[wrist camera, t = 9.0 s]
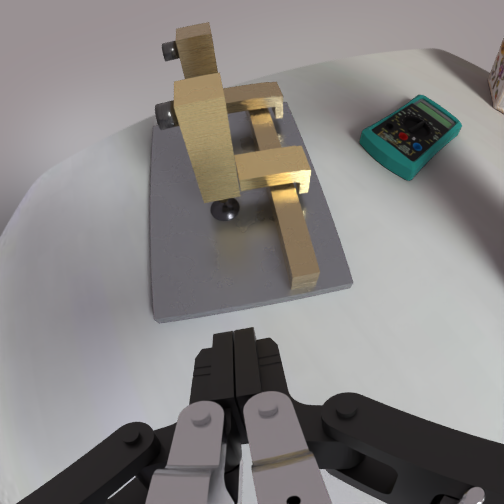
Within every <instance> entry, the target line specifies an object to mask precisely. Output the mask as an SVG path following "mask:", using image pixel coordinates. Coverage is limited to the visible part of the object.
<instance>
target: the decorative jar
mask: <svg viewBox="0 0 504 504" xmlns="http://www.w3.org/2000/svg"><path fill="white" fill-rule="evenodd" d="M488 83H489V87H490V92H491V96H492V101H493V108H495V109H497V110H498V111H500V112H502V113H503V114H504V38H503V41H502V44H501V46H500V49H499V52H498V55H497V57H496V60H495V62H494V65H493V67H492V70H491V73H490V75H489V78H488Z"/></svg>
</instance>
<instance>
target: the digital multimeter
mask: <svg viewBox="0 0 504 504" xmlns="http://www.w3.org/2000/svg"><path fill="white" fill-rule="evenodd" d="M461 127H462V124H461V123H460V121H459V120H458V119H457V118H456V117H454V116H453V115H452V114H451V113H449V112H448V111H447V110H445V109H444V108H442V107H441V106H440V105H438V104H437V103H435V102H434V101H432V100H431V99H429V98H427V97H426V96H424V95H418V96H416V97H415V98H413V99H412V100H411V101H410V102H408V103H407V104H406V105H404V106H403V107H401V108H400V109H398V110H397V111H395V112H394V113H392V114H390V115H389V116H387V117H385V118H383V119H382V120H380V121H378V122H376V123H375V124H373V125H371V126H369V127H367V128H365V129H364V130H363V131H362V134H361V138H360V144H361V145H362V146H363V148H364V149H365V150H366V151H367V152H368V153H369V154H370V155H371V156H372V157H373V158H374V159H375V160H376V161H378V162H379V163H380V164H381V165H383V166H384V167H385V168H387V169H389V170H390V171H392V172H393V173H395V174H397V175H398V176H400V177H402V178H404V179H405V180H407V181H410V180H412V179H413V177H414V176H415V175H416V174H417V173H418V172H419V171H420V170H421V169H422V168H423V167H424V166H425V164H426V163H427V162H428V161H429V160H430V159H431V158H432V157H433V156H434V155H435V154H436V153H437V152H438V151H440V150H441V149H442V148H443V147H444V146H445V145H446V144H447V143H449V142H450V141H451V140H452V139H453V138H455V137H456V136H457V135H458V133H459V131H460V129H461ZM446 132H447V133H446ZM424 152H425V153H424Z"/></svg>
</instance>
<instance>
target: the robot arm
mask: <svg viewBox="0 0 504 504" xmlns="http://www.w3.org/2000/svg"><path fill="white" fill-rule="evenodd" d="M248 443H249V446H250V452H251V457H252V463H253V465H252V475H253V480H254V485H255V491H256V496H257V501H258V504H332V502H331V499H330V497H329V494H328V491H327V489H326V486H325V483H324V481H323V478H322V475H321V473H320V470H319V469H326V471H327V472H328V473H329V474H331V475H333V476H334V477H336V478H338V479H340V480H342V481H344V482H345V483H347V484H349V485H351V486H353V487H355V488H357V489H359V490H361V491H363V492H365V493H367V494H369V495H371V496H373V497H375V498H377V499H379V500H381V501H383V502H385V503H388V504H504V444H501V443H497V442H494V441H490V440H487V439H483V438H480V437H477V436H473V435H470V434H467V433H464V432H461V431H458V430H454V429H451V428H448V427H445V426H442V425H440V424H437V423H434V422H431V421H428V420H425V419H422V418H420V417H417V416H414V415H411V414H409V413H406V412H403V411H401V410H398V409H395V408H393V407H390V406H388V405H385V404H383V403H380V402H378V401H375V400H373V399H370V398H368V397H365V396H363V395H360V394H357V393H351V392H347V393H340V394H337V395H335V396H332V397H331V398H329V399H328V400H327V401H326V402H325V403H324V405H306V404H302V403H299V402H297V401H296V400H294V399H293V398H292V397H291V396H290V394H289V392H288V388H287V383H286V379H285V375H284V371H283V366H282V362H281V358H280V353H279V349H278V345H277V344H276V343H275V342H274V341H273V340H272V339H271V338H265V339H259V340H256V336H255V331H254V327H251V328H246V329H240V330H235V331H234V332H233V331H229V332H223V333H217V334H214V335H213V345H212V348H206V349H202V350H201V351H200V353H199V354H198V355H197V357H196V358H195V365H194V372H193V380H192V387H191V395H190V403H189V406H187V407H186V408H184V409H183V410H182V412H181V413H180V415H179V417H178V421H177V422H176V423H174V424H172V425H170V426H167V427H164V428H161V429H157V430H154V431H153V429H152V428H151V427H150V426H149V425H147V424H146V423H142V422H132V423H128V424H125V425H123V426H122V427H120V428H119V429H118V430H116V431H115V432H114V433H112V434H111V435H110V436H109V437H107V438H106V439H105V440H103V441H102V442H101V443H100V444H98V445H97V446H96V447H94V448H93V449H92V450H90V451H89V452H88V453H86V454H85V455H84V456H82V457H81V458H80V459H78V460H77V461H76V462H74V463H73V464H72V465H70V466H69V467H68V468H66V469H65V470H63V471H62V472H61V473H59V474H58V475H57V476H55V477H54V478H52V479H51V480H50V481H48V482H47V483H45V484H44V485H43V486H41V487H40V488H38V489H37V490H35V491H34V492H32V493H31V494H30V495H28V496H27V497H25V498H24V499H22V500H21V501H19V502H18V503H16V504H242V483H243V460H242V450H241V444H248ZM134 476H136V477H135V478H134V479H133V480H132V481H131V482H129V483H128V484H127V485H126V486H125V487H123V488H122V489H121V490H120V491H119V492H117V493H116V494H115V495H114V496H112V497H111V498H109V499H108V497H109V496H111V495H112V494H113V493H114V492H116V491H117V490H118V489H119V488H120V487H122V486H123V485H124V484H125V483H127V482H128V481H129V480H130V479H131V478H133V477H134Z"/></svg>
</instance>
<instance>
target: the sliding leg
mask: <svg viewBox="0 0 504 504" xmlns="http://www.w3.org/2000/svg"><path fill="white" fill-rule="evenodd" d="M155 114H156V119H157V123H158V126H159V128H160V130H165V129H169V128H173V127H177V126H180V129H181V132H182V135H183V139H184V142H185V145H186V148H187V151H188V154H189V158H190V161H191V164H192V167H193V170H194V173H195V176H196V180H197V183H198V186H199V189H200V192H201V195H202V198H203V201H204V203H208V202H213V201H218V200H219V202H221V203H225V202H227V201H228V199H229V198H234V197H240V190H239V184H240V189H241V191H246V190H252V189H258V188H264V187H269V186H275V185H282V184H288V183H294V182H296V185H297V189H298V192H299V194H302V193H308V190H309V182H310V174H311V168H310V166H309V163H308V161H307V158H306V155H305V153H304V150H303V148H302V146H289V147H282V148H275V149H268V150H262V151H256V152H250V153H244V154H238V155H234V153H233V147H232V140H231V134H230V128H229V121H228V115H227V109H226V103H225V96H224V92H223V87H222V82H221V77H220V73H214V74H208V75H203V76H198V77H193V78H189V79H184V80H180V81H175V82H174V100H173V101H169V102H165V103H161V104H157V105H156V106H155ZM234 157H235V159H234ZM235 163H236V165H235ZM236 169H237V172H236ZM237 174H238V178H237ZM238 179H239V184H238Z"/></svg>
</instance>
